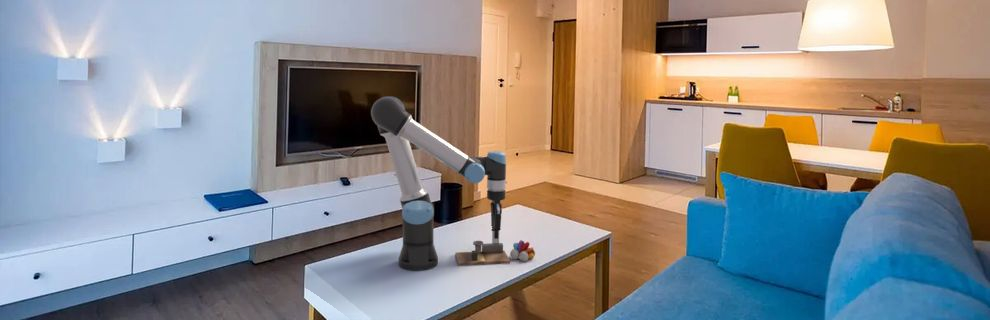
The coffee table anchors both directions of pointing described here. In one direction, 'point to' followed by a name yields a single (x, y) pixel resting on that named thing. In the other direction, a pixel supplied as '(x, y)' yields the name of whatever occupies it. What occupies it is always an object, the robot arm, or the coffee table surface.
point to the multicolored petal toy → (522, 251)
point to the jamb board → (481, 256)
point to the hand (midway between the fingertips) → (495, 245)
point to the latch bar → (492, 247)
